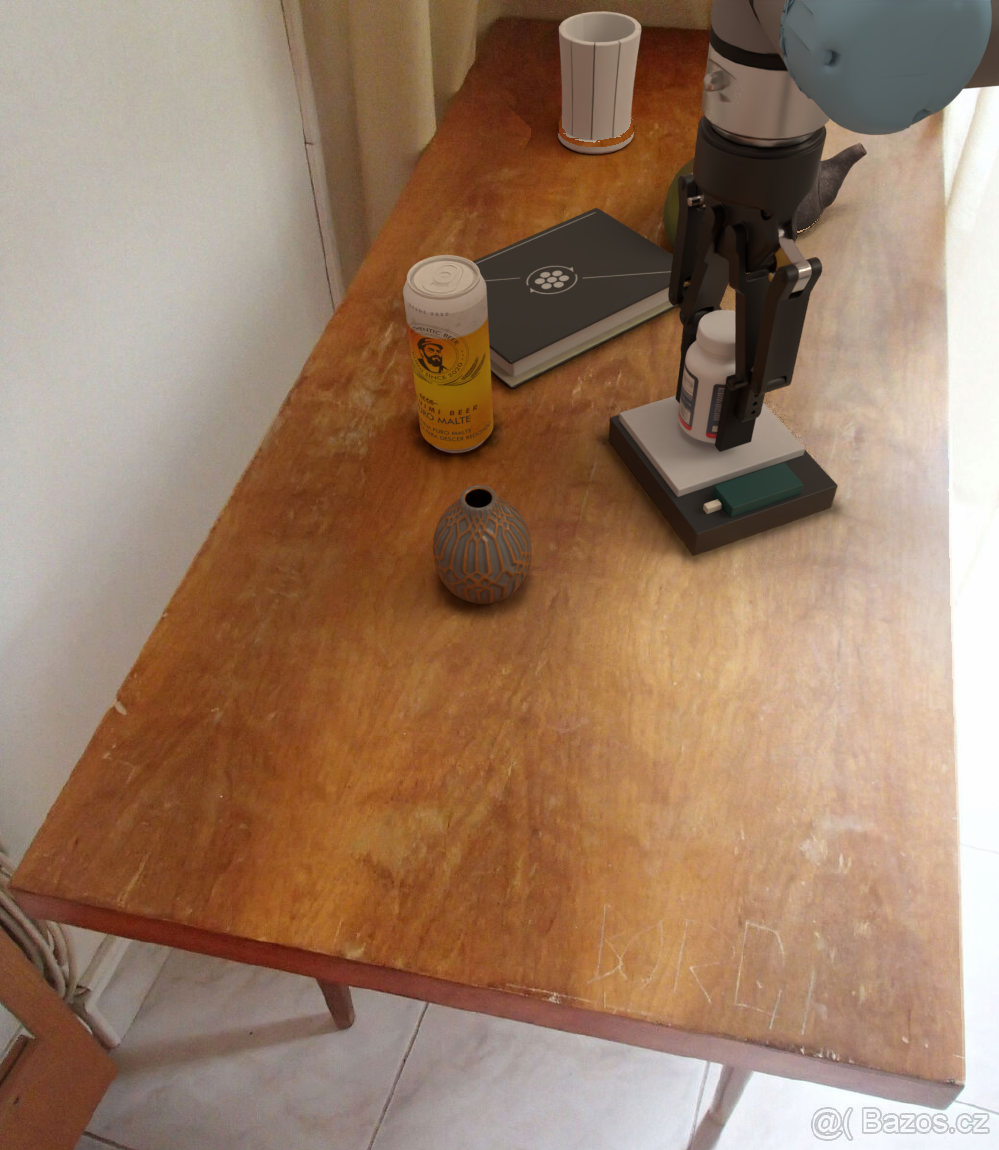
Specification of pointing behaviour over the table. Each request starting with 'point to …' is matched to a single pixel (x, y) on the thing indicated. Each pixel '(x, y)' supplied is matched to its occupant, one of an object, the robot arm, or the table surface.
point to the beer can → (450, 351)
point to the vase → (482, 547)
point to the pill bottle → (707, 375)
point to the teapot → (827, 185)
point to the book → (569, 293)
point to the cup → (597, 77)
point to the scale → (720, 475)
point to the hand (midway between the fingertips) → (712, 419)
